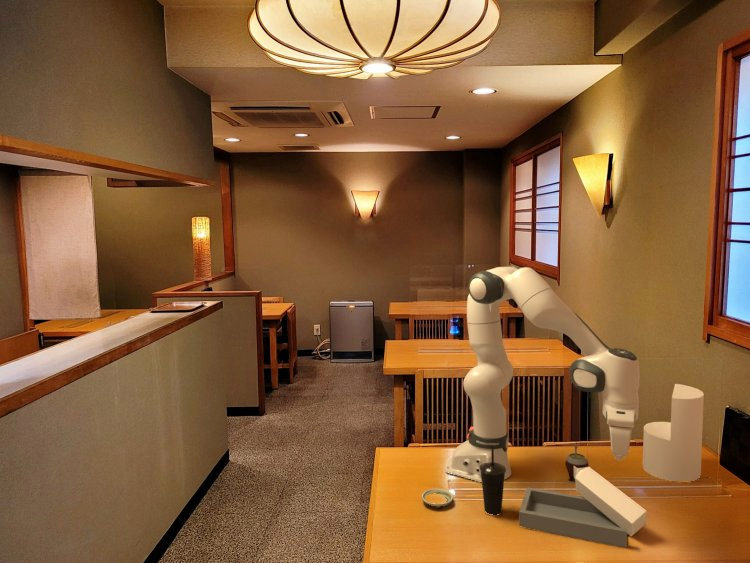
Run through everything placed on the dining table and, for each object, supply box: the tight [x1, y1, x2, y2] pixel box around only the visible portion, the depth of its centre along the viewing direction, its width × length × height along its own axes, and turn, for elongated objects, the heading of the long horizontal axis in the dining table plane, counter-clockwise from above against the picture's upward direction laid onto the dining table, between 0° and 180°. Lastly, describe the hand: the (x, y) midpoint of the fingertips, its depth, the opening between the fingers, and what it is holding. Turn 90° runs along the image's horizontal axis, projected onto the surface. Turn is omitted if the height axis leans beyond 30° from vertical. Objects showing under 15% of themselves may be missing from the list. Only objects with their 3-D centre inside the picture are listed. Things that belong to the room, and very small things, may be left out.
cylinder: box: [642, 383, 705, 482], centre depth 180 cm, size 17×17×28 cm
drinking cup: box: [480, 447, 506, 516], centre depth 158 cm, size 8×8×20 cm
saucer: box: [421, 488, 454, 508], centre depth 165 cm, size 10×10×2 cm
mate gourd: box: [565, 442, 589, 482], centre depth 176 cm, size 8×8×15 cm
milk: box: [574, 466, 648, 537], centre depth 152 cm, size 6×6×22 cm
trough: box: [518, 486, 628, 549], centre depth 152 cm, size 28×15×4 cm, turn 66°
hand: (618, 458), depth 145 cm, fingers closed
